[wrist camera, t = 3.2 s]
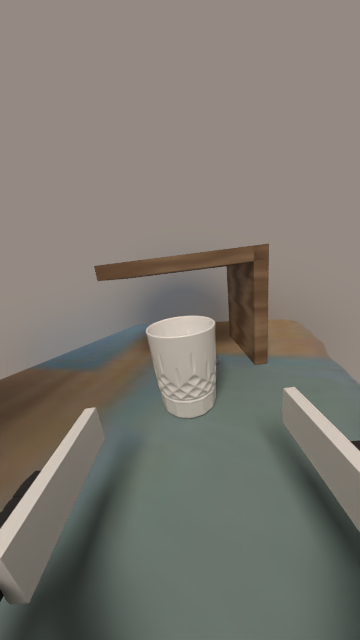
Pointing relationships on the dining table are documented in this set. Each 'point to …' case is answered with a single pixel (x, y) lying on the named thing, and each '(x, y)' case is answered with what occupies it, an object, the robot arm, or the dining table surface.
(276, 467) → the dining table surface
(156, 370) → the white cup
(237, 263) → the walnut shelf
